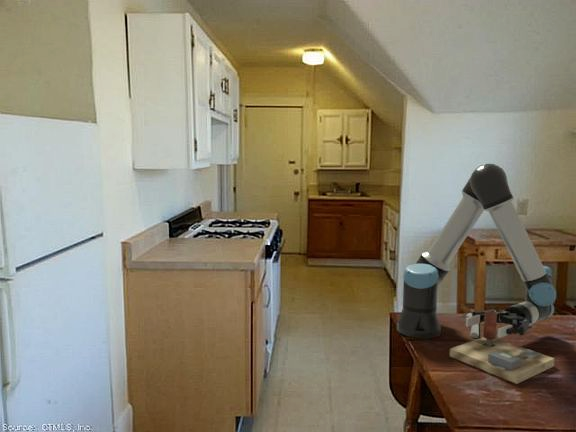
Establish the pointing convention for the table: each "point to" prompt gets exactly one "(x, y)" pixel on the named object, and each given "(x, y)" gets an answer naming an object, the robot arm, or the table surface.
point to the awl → (490, 327)
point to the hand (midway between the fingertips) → (482, 327)
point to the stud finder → (504, 360)
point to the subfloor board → (479, 352)
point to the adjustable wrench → (474, 328)
